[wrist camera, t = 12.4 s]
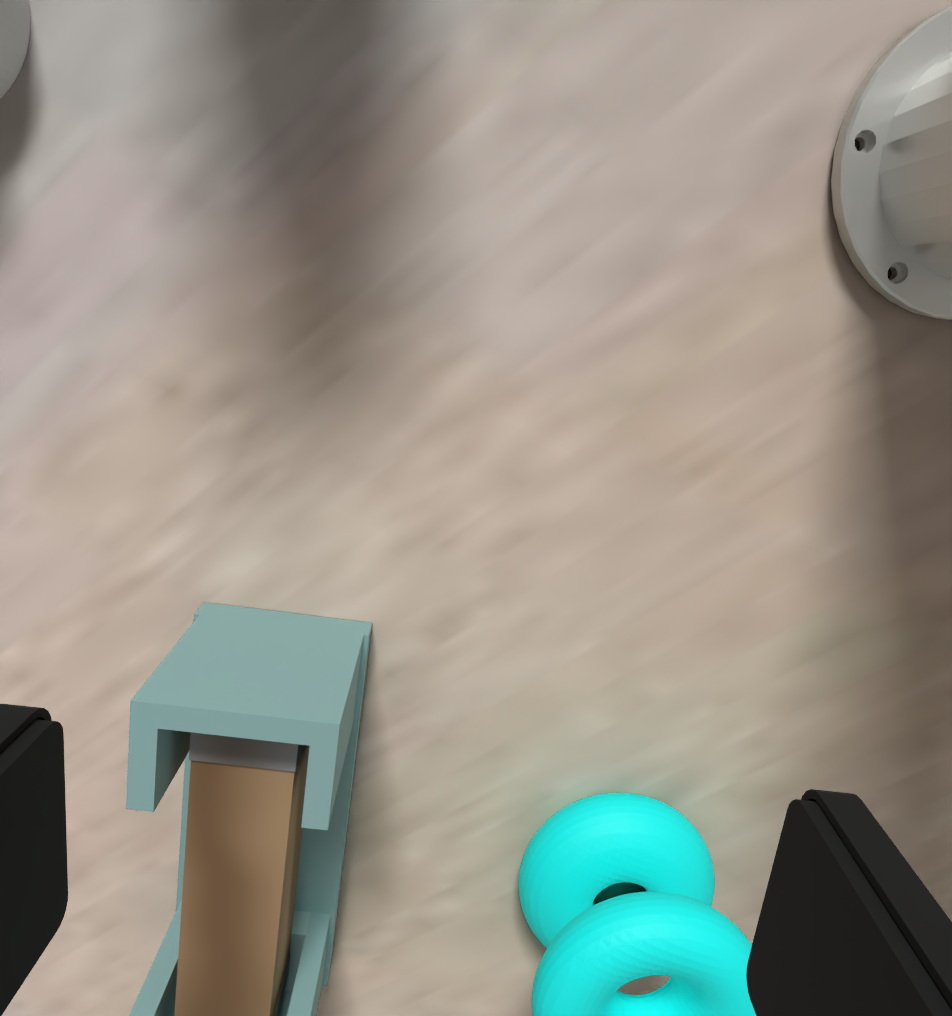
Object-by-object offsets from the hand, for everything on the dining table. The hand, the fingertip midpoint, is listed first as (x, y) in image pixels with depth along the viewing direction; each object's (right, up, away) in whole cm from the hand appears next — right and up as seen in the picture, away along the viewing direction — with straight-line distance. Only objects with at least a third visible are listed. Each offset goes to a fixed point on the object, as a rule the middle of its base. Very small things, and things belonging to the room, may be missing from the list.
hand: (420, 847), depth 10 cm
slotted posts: (-10, -10, +30) cm, 33 cm away
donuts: (+8, -14, +32) cm, 36 cm away
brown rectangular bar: (-10, -11, +27) cm, 31 cm away
